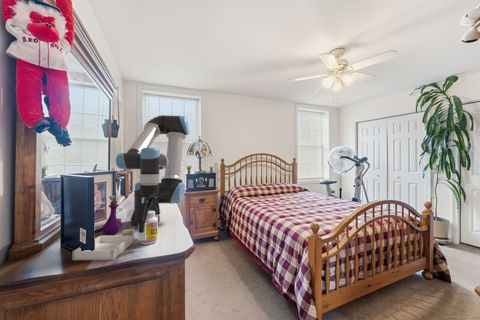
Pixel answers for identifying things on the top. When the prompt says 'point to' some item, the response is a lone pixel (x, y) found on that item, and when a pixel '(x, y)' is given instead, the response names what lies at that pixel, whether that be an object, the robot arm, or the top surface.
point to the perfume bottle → (112, 220)
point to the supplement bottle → (150, 229)
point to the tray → (105, 248)
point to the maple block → (128, 232)
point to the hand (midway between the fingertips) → (148, 234)
